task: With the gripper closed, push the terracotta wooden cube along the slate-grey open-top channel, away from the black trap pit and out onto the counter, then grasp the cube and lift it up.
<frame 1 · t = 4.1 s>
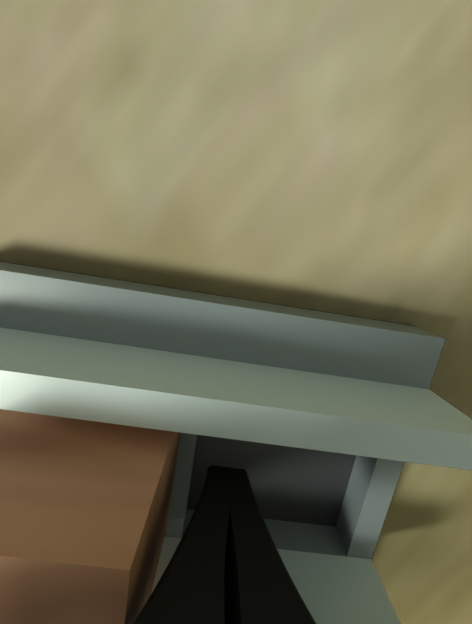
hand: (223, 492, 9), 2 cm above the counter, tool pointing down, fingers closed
channel: (184, 437, 11), on the counter
cube: (104, 456, 10), point 2 cm above the counter, touching channel, gripper
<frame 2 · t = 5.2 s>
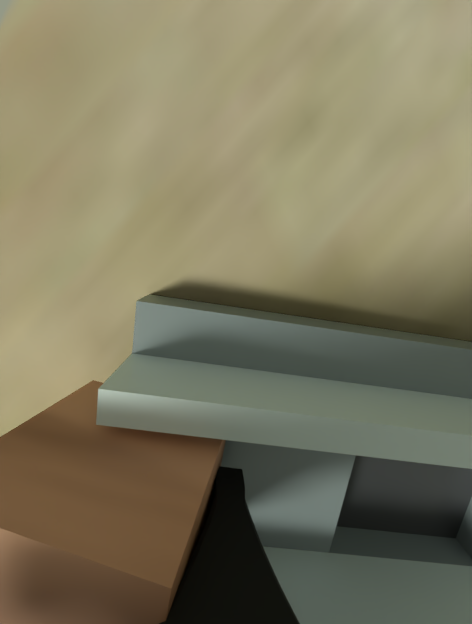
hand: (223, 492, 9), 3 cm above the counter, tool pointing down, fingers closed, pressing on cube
channel: (321, 456, 12), on the counter
cube: (150, 460, 10), point 2 cm above the counter, tilted 11°, touching channel, gripper
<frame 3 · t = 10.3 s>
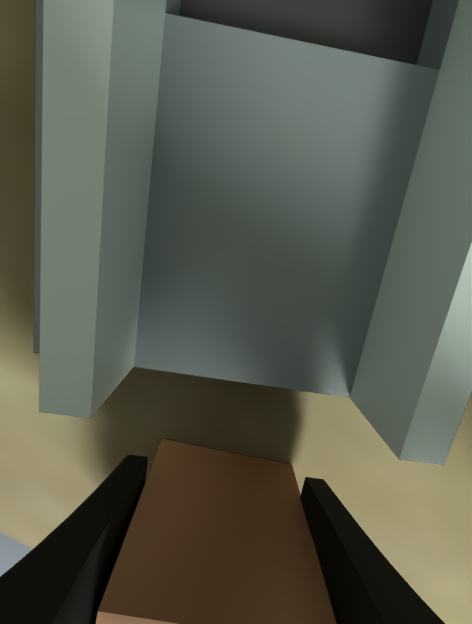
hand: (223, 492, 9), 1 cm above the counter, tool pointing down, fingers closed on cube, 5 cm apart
channel: (288, 101, 8), on the counter
cube: (226, 513, 8), point 2 cm above the counter, tilted 90°, touching gripper
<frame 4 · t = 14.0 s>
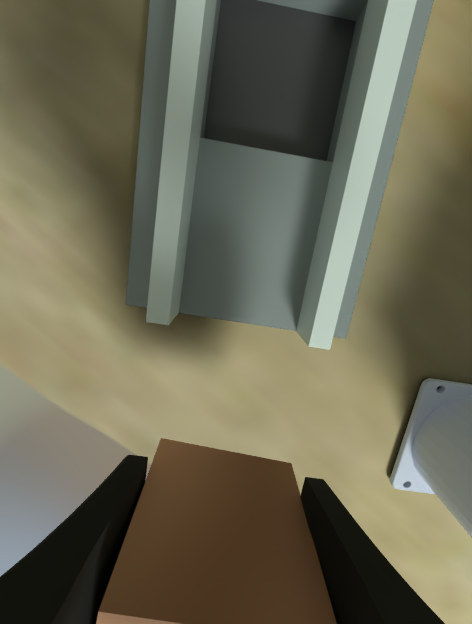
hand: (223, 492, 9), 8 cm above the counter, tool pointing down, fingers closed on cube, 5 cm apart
channel: (261, 170, 15), on the counter
cube: (226, 513, 8), point 9 cm above the counter, tilted 90°, touching gripper
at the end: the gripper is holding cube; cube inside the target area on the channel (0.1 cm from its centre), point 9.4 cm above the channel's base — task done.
